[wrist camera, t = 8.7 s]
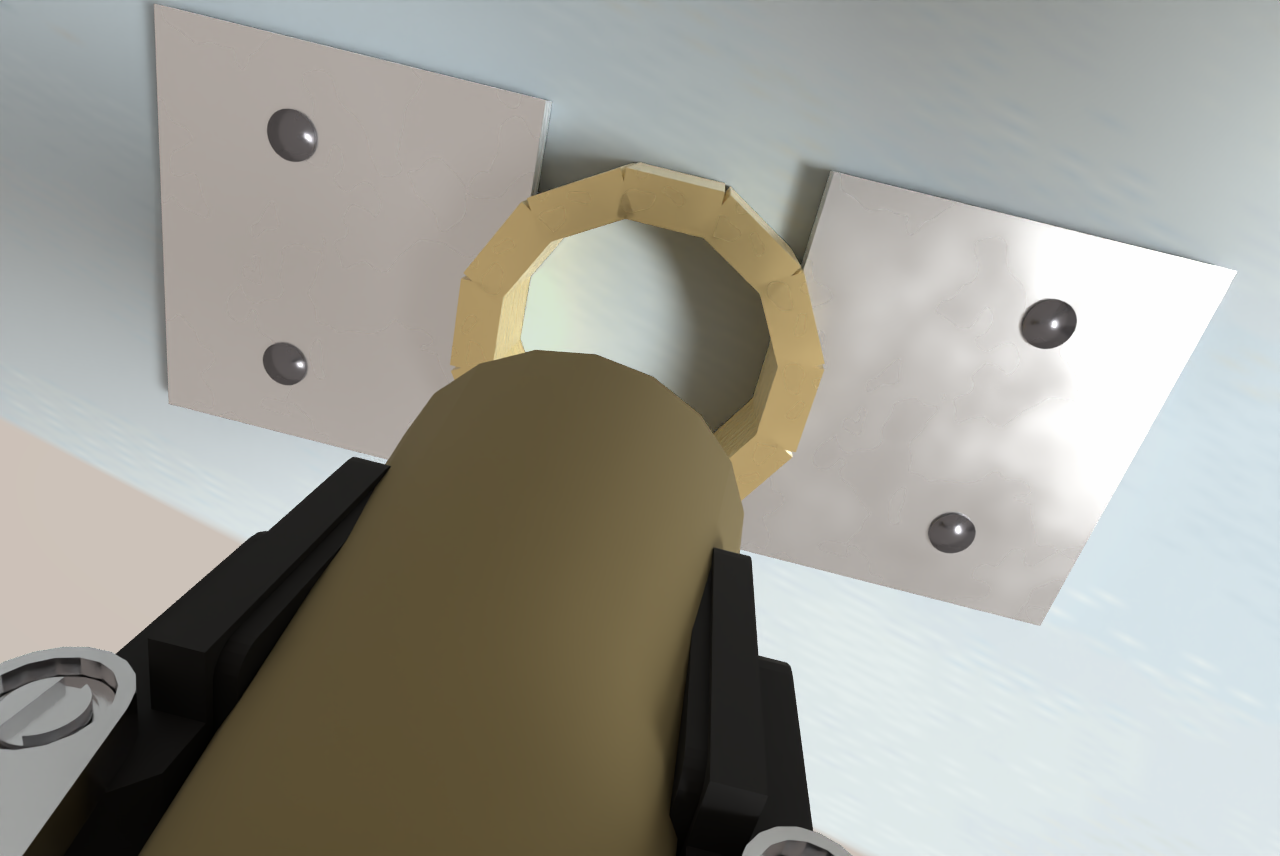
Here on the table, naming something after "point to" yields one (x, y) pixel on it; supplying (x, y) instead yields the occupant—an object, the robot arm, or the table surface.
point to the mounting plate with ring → (791, 294)
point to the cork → (487, 636)
